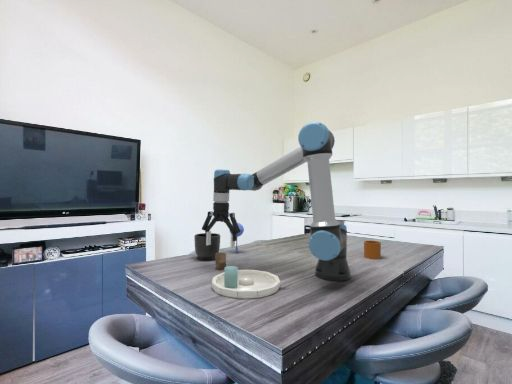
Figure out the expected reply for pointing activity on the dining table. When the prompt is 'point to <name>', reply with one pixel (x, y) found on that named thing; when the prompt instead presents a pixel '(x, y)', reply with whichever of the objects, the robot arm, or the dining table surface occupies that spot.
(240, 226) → the baby rattle
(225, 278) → the teal cylinder
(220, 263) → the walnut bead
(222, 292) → the round cream tray
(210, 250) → the planter
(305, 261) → the dining table surface
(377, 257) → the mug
